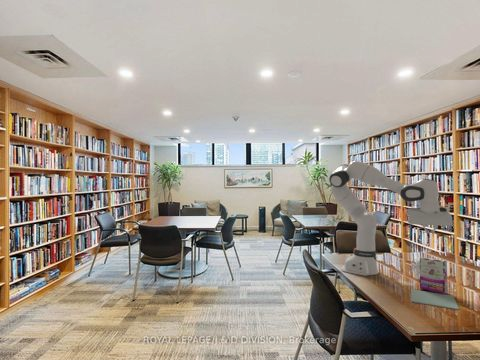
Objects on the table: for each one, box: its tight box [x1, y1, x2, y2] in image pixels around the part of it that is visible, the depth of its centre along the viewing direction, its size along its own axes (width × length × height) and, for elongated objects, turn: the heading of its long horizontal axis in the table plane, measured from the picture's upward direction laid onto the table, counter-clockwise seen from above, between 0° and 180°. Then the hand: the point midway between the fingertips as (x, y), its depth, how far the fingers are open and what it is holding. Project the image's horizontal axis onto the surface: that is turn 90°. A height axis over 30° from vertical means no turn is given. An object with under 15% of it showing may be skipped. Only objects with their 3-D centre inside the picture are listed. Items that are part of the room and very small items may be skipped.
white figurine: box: [410, 258, 420, 281], centre depth 164 cm, size 9×4×12 cm, turn 56°
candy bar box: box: [419, 256, 448, 295], centre depth 145 cm, size 11×5×16 cm, turn 41°
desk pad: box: [410, 288, 460, 311], centre depth 135 cm, size 18×17×1 cm
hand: (429, 233), depth 153 cm, fingers closed
